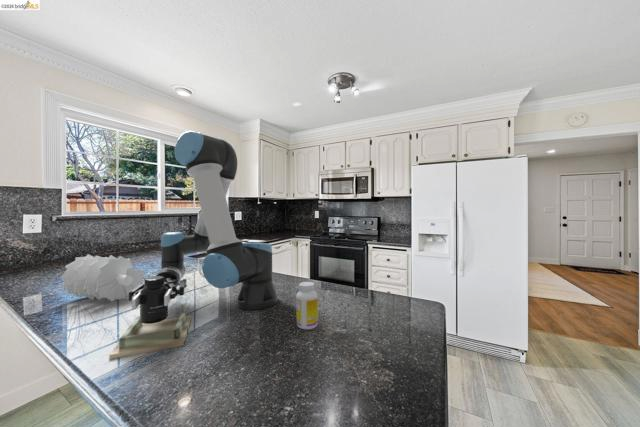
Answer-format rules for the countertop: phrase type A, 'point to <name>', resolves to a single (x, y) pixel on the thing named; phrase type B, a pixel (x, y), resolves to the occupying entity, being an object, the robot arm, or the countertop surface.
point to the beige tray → (152, 336)
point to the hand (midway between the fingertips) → (150, 302)
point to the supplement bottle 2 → (307, 306)
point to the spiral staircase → (101, 277)
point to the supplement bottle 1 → (153, 300)
